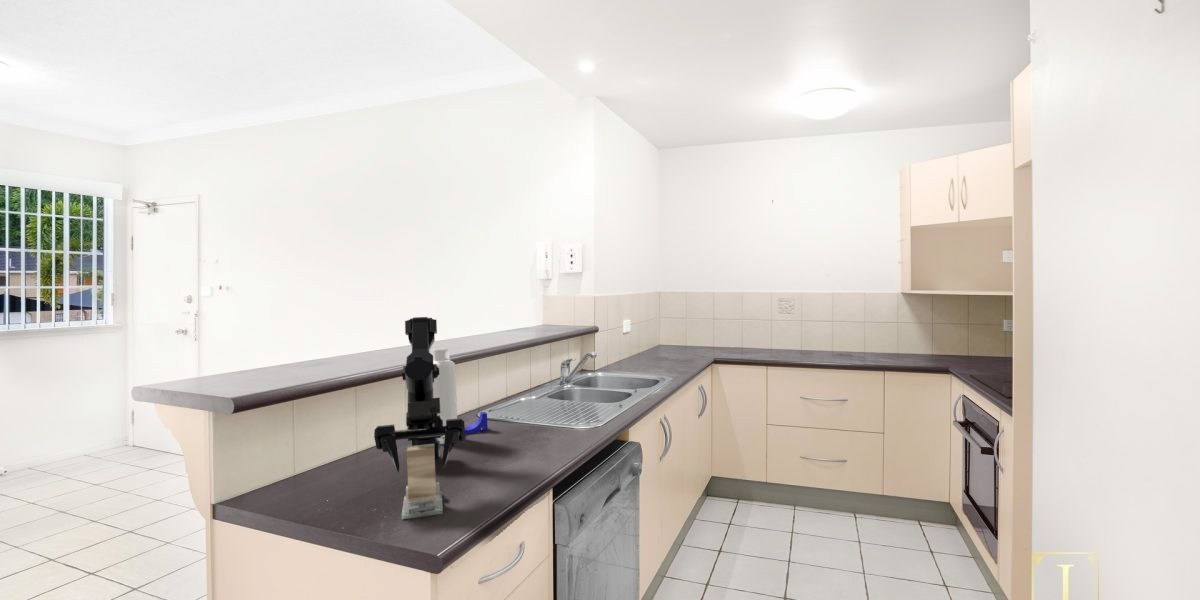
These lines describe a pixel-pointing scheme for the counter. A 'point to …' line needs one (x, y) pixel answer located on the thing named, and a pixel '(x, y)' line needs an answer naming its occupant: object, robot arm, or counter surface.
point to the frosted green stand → (422, 505)
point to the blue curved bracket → (478, 425)
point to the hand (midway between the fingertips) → (421, 468)
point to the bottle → (445, 386)
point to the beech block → (421, 471)
